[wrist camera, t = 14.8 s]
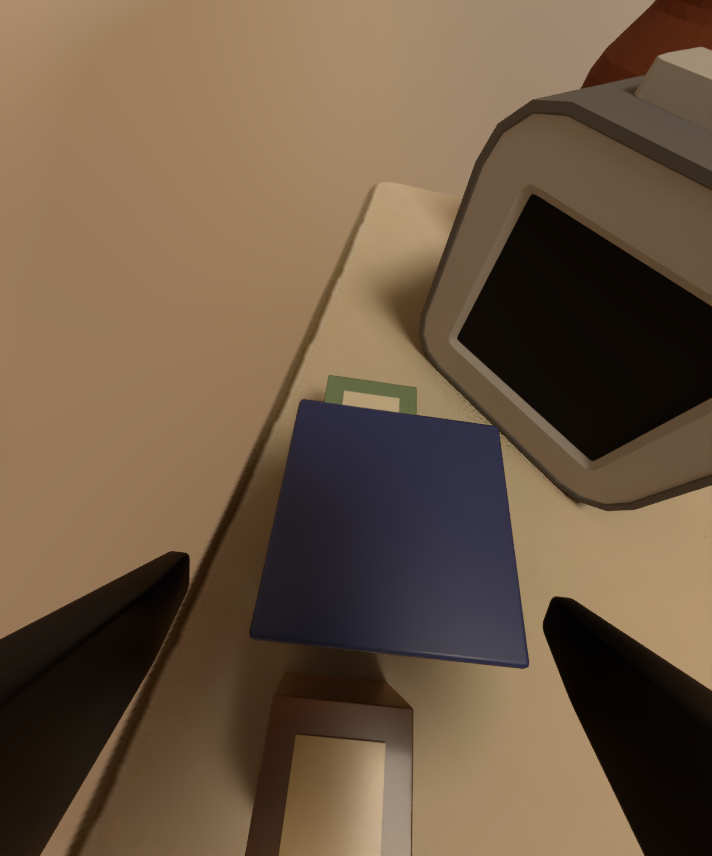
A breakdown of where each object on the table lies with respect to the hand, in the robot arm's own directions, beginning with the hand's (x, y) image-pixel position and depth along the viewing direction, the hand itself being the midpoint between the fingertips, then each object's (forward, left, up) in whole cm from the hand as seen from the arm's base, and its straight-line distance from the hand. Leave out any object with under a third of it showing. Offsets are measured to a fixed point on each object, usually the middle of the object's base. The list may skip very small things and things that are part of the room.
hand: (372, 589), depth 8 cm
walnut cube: (-4, -3, -9) cm, 11 cm away
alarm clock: (+20, 0, -9) cm, 22 cm away
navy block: (+1, +1, -9) cm, 9 cm away
